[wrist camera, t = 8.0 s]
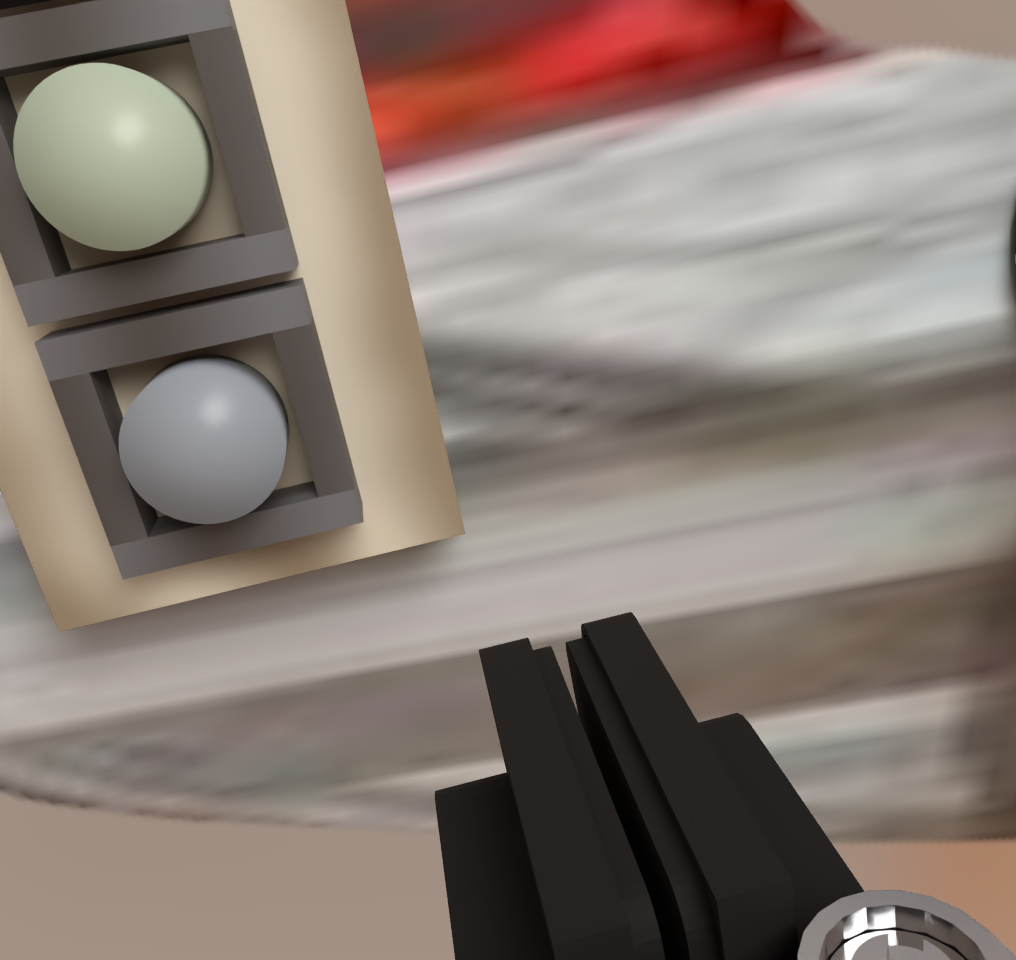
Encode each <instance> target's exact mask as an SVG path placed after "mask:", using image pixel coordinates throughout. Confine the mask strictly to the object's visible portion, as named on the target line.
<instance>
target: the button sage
mask: <svg viewBox="0 0 1016 960" xmlns="http://www.w3.org/2000/svg"><path fill="white" fill-rule="evenodd" d="M13 151H14V159H15V166H16V169H17V173H18V176H19V179H20V181H21V184H22V186H23V188H24V191H25V192H26V194H27V196H28V197H29V199H30V201H31V202H32V204H33V205H34V206H35V208H36V209H37V210H38V212H39V213H40V214H41V215H42V216H43V217H44V218H45V219H46V220H47V221H48V222H49V223H50V224H51V225H53V226H54V227H55V228H56V229H57V230H59V231H60V232H62V233H63V234H65V235H66V236H68V237H70V238H72V239H74V240H76V241H78V242H80V243H82V244H85V245H88V246H90V247H94V248H98V249H102V250H110V251H130V250H137V249H141V248H145V247H149V246H151V245H153V244H156V243H158V242H160V241H162V240H164V239H166V238H168V237H169V236H171V235H173V234H175V233H176V232H178V231H180V230H181V229H183V228H184V227H185V226H186V225H188V224H189V223H190V222H191V221H192V220H193V219H194V218H195V217H196V216H197V214H198V213H199V212H200V210H201V209H202V207H203V205H204V203H205V201H206V199H207V197H208V195H209V191H210V188H211V184H212V179H213V153H212V149H211V144H210V140H209V138H208V135H207V132H206V130H205V128H204V126H203V124H202V122H201V120H200V118H199V117H198V115H197V114H196V112H195V110H194V109H193V108H192V107H191V106H190V104H189V103H188V102H187V101H186V100H185V99H184V98H183V97H182V96H181V95H180V94H179V93H178V92H176V91H175V90H174V89H172V88H171V87H170V86H168V85H167V84H165V83H163V82H162V81H160V80H158V79H156V78H154V77H151V76H149V75H147V74H144V73H141V72H138V71H135V70H132V69H129V68H126V67H122V66H119V65H114V64H107V63H85V64H78V65H74V66H70V67H67V68H64V69H62V70H60V71H57V72H55V73H54V74H52V75H50V76H49V77H47V78H46V79H44V80H43V81H42V82H41V83H40V84H39V85H37V86H36V87H35V89H34V90H33V91H32V92H31V93H30V95H29V96H28V97H27V99H26V101H25V102H24V104H23V106H22V108H21V110H20V113H19V115H18V118H17V121H16V125H15V130H14V139H13Z"/></svg>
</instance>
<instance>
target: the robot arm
mask: <svg viewBox="0 0 1016 960" xmlns="http://www.w3.org/2000/svg"><path fill="white" fill-rule="evenodd" d="M1015 262H1016V256H1015ZM581 632H582V638H581V639H577V640H573V641H568V642H566V651H567V657H568V662H569V667H570V673H571V678H572V683H573V688H574V693H575V699H576V704H577V709H578V713H577V710H576V708H575V705H574V703H573V700H572V698H571V695H570V693H569V690H568V688H567V685H566V683H565V680H564V677H563V675H562V672H561V670H560V667H559V665H558V662H557V660H556V657H555V655H554V652H553V650H552V648H551V646H548V647H544V648H540V649H536V650H533V649H532V647H531V644H530V641H529V639H528V638H524V639H520V640H516V641H512V642H508V643H504V644H500V645H496V646H492V647H488V648H484V649H480V650H479V654H480V658H481V662H482V667H483V671H484V675H485V680H486V684H487V688H488V693H489V697H490V701H491V706H492V710H493V714H494V719H495V723H496V727H497V732H498V736H499V740H500V745H501V749H502V753H503V758H504V762H505V766H506V771H507V773H503V774H499V775H495V776H491V777H487V778H484V779H480V780H476V781H472V782H468V783H464V784H460V785H457V786H453V787H449V788H445V789H441V790H437V791H435V803H436V811H437V819H438V827H439V835H440V842H441V851H442V858H443V866H444V873H445V882H446V890H447V897H448V906H449V914H450V921H451V929H452V937H453V944H454V952H455V960H1016V956H1015V955H1014V954H1013V953H1012V952H1011V951H1010V950H1009V949H1008V948H1006V947H1005V946H1004V945H1003V944H1002V943H1001V942H1000V941H999V940H998V939H997V938H996V937H995V936H994V935H993V934H992V933H991V932H990V931H989V930H988V929H986V928H985V927H984V926H982V925H981V924H980V923H978V922H977V921H976V920H974V919H973V918H971V917H970V916H969V915H968V914H966V913H965V912H964V911H962V910H960V909H958V908H956V907H953V906H951V905H949V904H947V903H944V902H942V901H940V900H938V899H935V898H933V897H930V896H925V895H921V894H916V893H911V892H906V891H902V890H874V891H873V890H872V891H865V892H864V890H863V889H862V887H861V886H860V884H859V883H858V882H857V880H856V879H855V877H854V876H853V874H852V873H851V871H850V870H849V868H848V867H847V865H846V864H845V862H844V861H843V859H842V858H841V857H840V855H839V854H838V852H837V851H836V849H835V848H834V846H833V845H832V843H831V842H830V840H829V839H828V837H827V836H826V834H825V833H824V832H823V830H822V829H821V827H820V826H819V824H818V823H817V821H816V820H815V818H814V817H813V815H812V814H811V813H810V811H809V810H808V808H807V807H806V805H805V804H804V802H803V801H802V799H801V798H800V796H799V795H798V794H797V792H796V791H795V789H794V788H793V786H792V785H791V783H790V782H789V780H788V779H787V777H786V776H785V774H784V773H783V772H782V770H781V769H780V767H779V766H778V764H777V763H776V761H775V760H774V758H773V757H772V755H771V754H770V753H769V751H768V750H767V748H766V747H765V745H764V744H763V742H762V741H761V739H760V738H759V736H758V735H757V733H756V732H755V731H754V729H753V728H752V726H751V725H750V723H749V722H748V721H747V720H746V719H745V718H744V716H743V715H741V714H738V713H734V714H731V715H727V716H723V717H719V718H715V719H711V720H707V721H704V722H700V723H698V722H697V720H696V718H695V717H694V715H693V713H692V712H691V710H690V708H689V707H688V705H687V703H686V701H685V700H684V698H683V696H682V695H681V693H680V691H679V690H678V688H677V686H676V685H675V683H674V681H673V680H672V678H671V676H670V675H669V673H668V671H667V670H666V668H665V666H664V665H663V663H662V661H661V660H660V658H659V656H658V654H657V653H656V651H655V649H654V648H653V646H652V644H651V643H650V641H649V639H648V638H647V636H646V634H645V633H644V631H643V629H642V628H641V626H640V624H639V623H638V621H637V619H636V618H635V616H634V615H633V613H631V612H629V613H625V614H621V615H617V616H613V617H609V618H605V619H601V620H597V621H593V622H589V623H585V624H582V626H581ZM578 714H579V715H578Z"/></svg>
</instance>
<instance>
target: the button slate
mask: <svg viewBox="0 0 1016 960" xmlns="http://www.w3.org/2000/svg"><path fill="white" fill-rule="evenodd" d="M288 439H289V420H288V415H287V411H286V408H285V405H284V402H283V400H282V398H281V396H280V394H279V393H278V391H277V390H276V388H275V387H274V385H273V384H272V383H271V382H270V381H269V380H268V379H267V378H266V377H265V376H264V375H263V374H262V373H260V372H259V371H258V370H256V369H255V368H253V367H252V366H250V365H248V364H246V363H244V362H242V361H240V360H237V359H234V358H231V357H227V356H222V355H214V354H202V355H194V356H189V357H186V358H182V359H179V360H177V361H175V362H173V363H171V364H169V365H167V366H166V367H164V368H163V369H161V370H160V371H159V372H158V373H157V374H155V375H154V377H153V378H152V379H151V380H150V381H149V382H148V383H147V385H146V386H145V387H144V388H143V390H142V391H141V392H140V393H139V395H138V396H137V397H136V398H135V400H134V401H133V402H132V404H131V405H130V407H129V408H128V410H127V412H126V414H125V416H124V418H123V421H122V424H121V427H120V433H119V455H120V460H121V464H122V467H123V470H124V472H125V474H126V477H127V479H128V480H129V482H130V484H131V485H132V487H133V488H134V489H135V491H136V492H137V493H138V494H139V495H140V496H141V497H142V498H143V499H144V500H145V501H146V502H147V503H148V504H150V505H151V506H152V507H153V508H155V509H156V510H158V511H160V512H162V513H163V514H165V515H167V516H170V517H172V518H174V519H178V520H181V521H184V522H190V523H195V524H217V523H223V522H228V521H231V520H234V519H237V518H239V517H242V516H244V515H246V514H248V513H249V512H251V511H253V510H254V509H256V508H257V507H258V506H259V505H261V504H262V503H263V502H264V501H265V500H266V499H267V498H268V497H269V495H270V494H271V493H272V491H273V490H274V489H275V487H276V485H277V483H278V481H279V479H280V476H281V474H282V471H283V466H284V461H285V456H286V450H287V445H288Z"/></svg>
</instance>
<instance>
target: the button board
mask: <svg viewBox="0 0 1016 960" xmlns="http://www.w3.org/2000/svg"><path fill="white" fill-rule="evenodd" d="M85 63H107V64H114V65H119V66H122V67H126V68H129V69H132V70H135V71H138V72H141V73H144V74H147V75H149V76H151V77H154V78H156V79H158V80H160V81H162V82H163V83H165V84H167V85H168V86H170V87H171V88H172V89H174V90H175V91H176V92H178V93H179V94H180V95H181V96H182V97H183V98H184V99H185V100H186V101H187V102H188V103H189V104H190V106H191V107H192V108H193V109H194V110H195V112H196V114H197V115H198V117H199V118H200V120H201V122H202V124H203V126H204V128H205V130H206V132H207V135H208V138H209V140H210V144H211V149H212V153H213V179H212V184H211V188H210V191H209V195H208V197H207V199H206V201H205V203H204V205H203V207H202V209H201V210H200V212H199V213H198V214H197V216H196V217H195V218H194V219H193V220H192V221H191V222H190V223H189V224H188V225H186V226H185V227H184V228H183V229H181V230H180V231H178V232H176V233H175V234H173V235H171V236H169V237H168V238H166V239H164V240H162V241H160V242H158V243H156V244H153V245H151V246H149V247H145V248H141V249H137V250H130V251H110V250H102V249H98V248H94V247H90V246H88V245H85V244H82V243H80V242H78V241H76V240H74V239H72V238H70V237H68V236H66V235H65V234H63V233H62V232H60V231H59V230H57V229H56V228H55V227H54V226H53V225H51V224H50V223H49V222H48V221H47V220H46V219H45V218H44V217H43V216H42V215H41V214H40V213H39V212H38V210H37V209H36V208H35V206H34V205H33V204H32V202H31V201H30V199H29V197H28V196H27V194H26V192H25V191H24V188H23V186H22V184H21V181H20V179H19V176H18V173H17V169H16V166H15V159H14V151H13V139H14V130H15V125H16V121H17V118H18V115H19V113H20V110H21V108H22V106H23V104H24V102H25V101H26V99H27V97H28V96H29V95H30V93H31V92H32V91H33V90H34V89H35V87H36V86H37V85H39V84H40V83H41V82H42V81H43V80H44V79H46V78H47V77H49V76H50V75H52V74H54V73H55V72H57V71H60V70H62V69H64V68H67V67H70V66H74V65H78V64H85ZM202 354H214V355H222V356H227V357H231V358H234V359H237V360H240V361H242V362H244V363H246V364H248V365H250V366H252V367H253V368H255V369H256V370H258V371H259V372H260V373H262V374H263V375H264V376H265V377H266V378H267V379H268V380H269V381H270V382H271V383H272V384H273V385H274V387H275V388H276V390H277V391H278V393H279V394H280V396H281V398H282V400H283V402H284V405H285V408H286V411H287V415H288V420H289V439H288V445H287V450H286V456H285V461H284V466H283V471H282V474H281V476H280V479H279V481H278V483H277V485H276V487H275V489H274V490H273V491H272V493H271V494H270V495H269V497H268V498H267V499H266V500H265V501H264V502H263V503H262V504H261V505H259V506H258V507H257V508H256V509H254V510H253V511H251V512H249V513H248V514H246V515H244V516H242V517H239V518H237V519H234V520H231V521H228V522H223V523H217V524H195V523H190V522H184V521H181V520H178V519H174V518H172V517H170V516H167V515H165V514H163V513H162V512H160V511H158V510H156V509H155V508H153V507H152V506H151V505H150V504H148V503H147V502H146V501H145V500H144V499H143V498H142V497H141V496H140V495H139V494H138V493H137V492H136V491H135V489H134V488H133V487H132V485H131V484H130V482H129V480H128V479H127V477H126V474H125V472H124V470H123V467H122V464H121V460H120V455H119V433H120V427H121V424H122V421H123V418H124V416H125V414H126V412H127V410H128V408H129V407H130V405H131V404H132V402H133V401H134V400H135V398H136V397H137V396H138V395H139V393H140V392H141V391H142V390H143V388H144V387H145V386H146V385H147V383H148V382H149V381H150V380H151V379H152V378H153V377H154V375H155V374H157V373H158V372H159V371H160V370H161V369H163V368H164V367H166V366H167V365H169V364H171V363H173V362H175V361H177V360H179V359H182V358H186V357H189V356H194V355H202ZM0 489H1V491H2V494H3V496H4V499H5V501H6V504H7V506H8V509H9V511H10V513H11V516H12V518H13V521H14V523H15V526H16V528H17V530H18V533H19V535H20V538H21V540H22V543H23V545H24V548H25V550H26V552H27V555H28V557H29V560H30V562H31V565H32V567H33V569H34V572H35V574H36V577H37V579H38V582H39V584H40V587H41V589H42V591H43V594H44V596H45V599H46V601H47V604H48V606H49V608H50V611H51V613H52V616H53V618H54V621H55V623H56V626H57V628H58V630H59V632H61V631H65V630H69V629H73V628H77V627H82V626H86V625H90V624H94V623H98V622H102V621H106V620H110V619H115V618H119V617H123V616H127V615H131V614H135V613H139V612H144V611H148V610H152V609H156V608H160V607H164V606H168V605H172V604H177V603H181V602H185V601H189V600H193V599H197V598H201V597H206V596H210V595H214V594H218V593H222V592H226V591H230V590H234V589H239V588H243V587H247V586H251V585H255V584H259V583H263V582H267V581H272V580H276V579H280V578H284V577H288V576H292V575H296V574H301V573H305V572H309V571H313V570H317V569H321V568H325V567H329V566H334V565H338V564H342V563H346V562H350V561H354V560H358V559H363V558H367V557H371V556H375V555H379V554H383V553H387V552H391V551H396V550H400V549H404V548H408V547H412V546H416V545H420V544H425V543H429V542H433V541H437V540H441V539H445V538H449V537H453V536H458V535H462V534H465V531H464V527H463V523H462V518H461V514H460V509H459V505H458V500H457V496H456V492H455V487H454V483H453V478H452V474H451V469H450V465H449V460H448V456H447V452H446V447H445V443H444V438H443V434H442V429H441V425H440V421H439V416H438V412H437V407H436V403H435V398H434V394H433V389H432V385H431V381H430V376H429V372H428V367H427V363H426V358H425V354H424V350H423V345H422V341H421V336H420V332H419V327H418V323H417V318H416V314H415V310H414V305H413V301H412V296H411V292H410V287H409V283H408V279H407V274H406V270H405V265H404V261H403V256H402V252H401V247H400V243H399V239H398V234H397V230H396V225H395V221H394V216H393V212H392V208H391V203H390V199H389V194H388V190H387V185H386V181H385V176H384V172H383V168H382V163H381V159H380V154H379V150H378V145H377V141H376V137H375V132H374V128H373V123H372V119H371V114H370V110H369V105H368V101H367V97H366V92H365V88H364V83H363V79H362V74H361V70H360V66H359V61H358V57H357V52H356V48H355V43H354V39H353V34H352V30H351V26H350V21H349V17H348V12H347V8H346V3H345V0H0Z"/></svg>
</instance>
